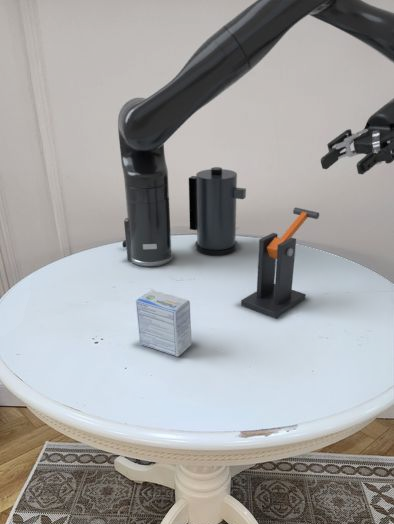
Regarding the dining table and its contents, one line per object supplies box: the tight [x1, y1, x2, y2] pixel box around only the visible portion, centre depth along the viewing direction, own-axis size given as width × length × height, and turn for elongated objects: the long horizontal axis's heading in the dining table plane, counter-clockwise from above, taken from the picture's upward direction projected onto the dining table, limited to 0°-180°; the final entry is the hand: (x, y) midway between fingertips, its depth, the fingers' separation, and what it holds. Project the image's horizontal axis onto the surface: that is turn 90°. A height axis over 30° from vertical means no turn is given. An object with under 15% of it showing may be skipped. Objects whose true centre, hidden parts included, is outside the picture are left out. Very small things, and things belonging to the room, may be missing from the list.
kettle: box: [188, 166, 247, 257], centre depth 122 cm, size 13×10×18 cm
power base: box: [240, 232, 306, 319], centre depth 99 cm, size 10×8×13 cm
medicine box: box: [135, 289, 193, 357], centre depth 87 cm, size 8×4×9 cm, turn 58°
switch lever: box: [267, 207, 320, 260], centre depth 98 cm, size 12×5×2 cm, turn 139°
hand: (340, 167), depth 97 cm, fingers open, 8 cm apart
